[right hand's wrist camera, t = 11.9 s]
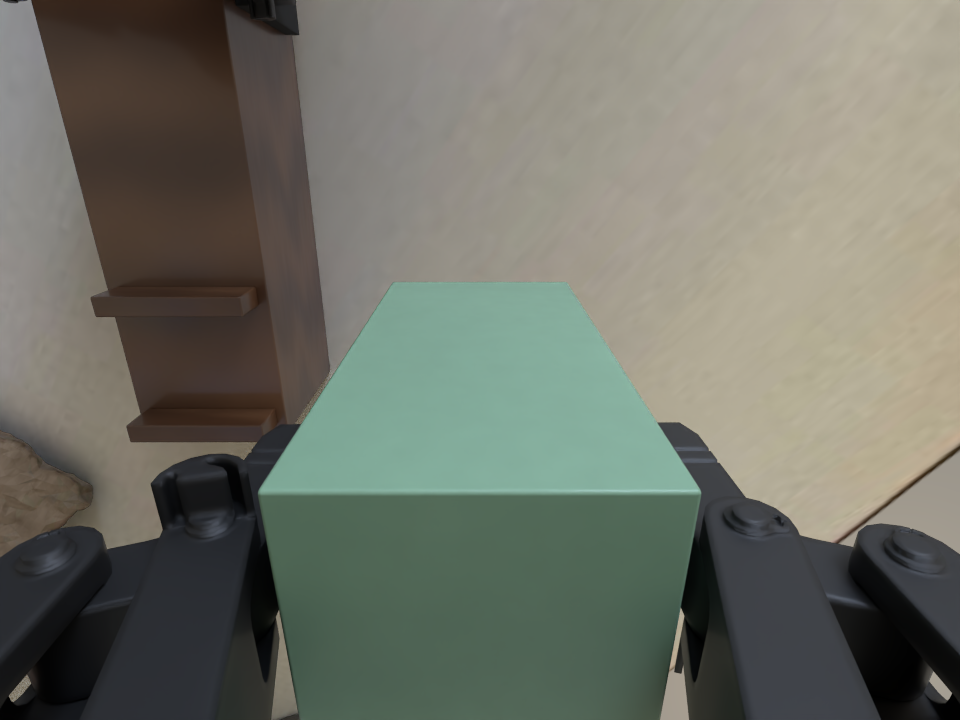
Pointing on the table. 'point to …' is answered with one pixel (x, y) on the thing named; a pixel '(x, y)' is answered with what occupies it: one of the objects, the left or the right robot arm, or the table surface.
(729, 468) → the table surface
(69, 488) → the stone
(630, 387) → the block
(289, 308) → the slotted wooden block
